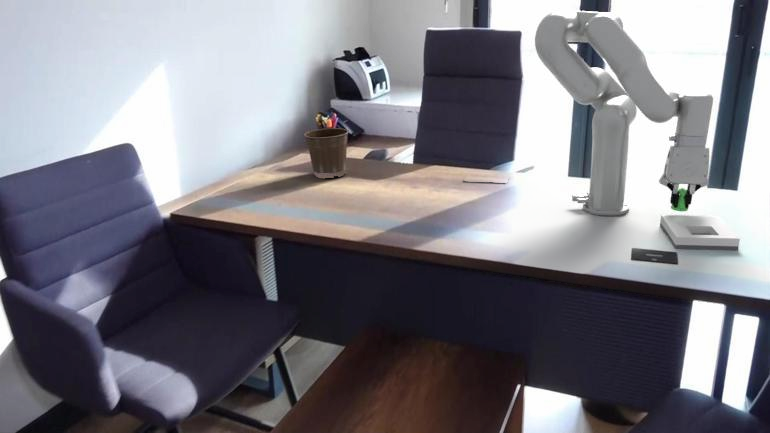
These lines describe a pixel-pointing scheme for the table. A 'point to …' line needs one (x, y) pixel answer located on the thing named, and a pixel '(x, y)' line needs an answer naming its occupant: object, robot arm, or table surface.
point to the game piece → (681, 201)
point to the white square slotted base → (699, 232)
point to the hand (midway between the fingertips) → (680, 206)
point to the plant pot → (327, 149)
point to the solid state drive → (654, 256)
